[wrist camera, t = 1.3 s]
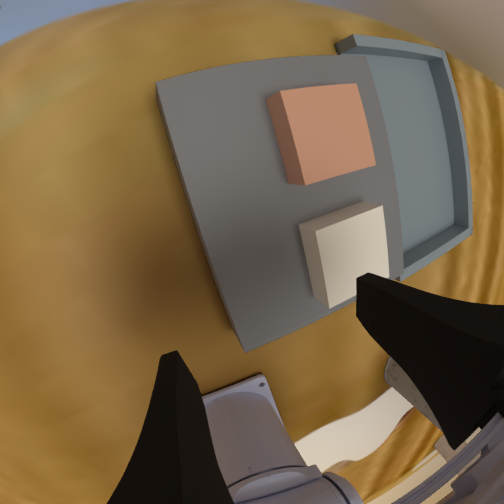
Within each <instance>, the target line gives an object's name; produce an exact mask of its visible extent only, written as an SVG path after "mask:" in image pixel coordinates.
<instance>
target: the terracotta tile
mask: <svg viewBox="0 0 504 504" xmlns="http://www.w3.org/2000/svg"><path fill="white" fill-rule="evenodd" d="M266 103H267V106H268V109H269V113H270V116H271V120H272V123H273V127H274V130H275V134H276V138H277V141H278V145H279V149H280V152H281V156H282V160H283V164H284V168H285V171H286V175H287V179H288V183H289V184H297V185H309V184H312V183H315V182H319V181H322V180H325V179H329V178H332V177H335V176H339V175H342V174H346V173H349V172H353V171H356V170H360V169H364V168H367V167H371V166H374V165H376V162H375V157H374V152H373V147H372V142H371V138H370V133H369V129H368V125H367V120H366V116H365V112H364V109H363V105H362V101H361V98H360V94H359V90H358V87H357V84H356V83H353V84H337V85H325V86H314V87H305V88H297V89H290V90H283V91H279V92H277V93H276V94H274V95H272V96H271V97H269V98H268V99H266Z"/></svg>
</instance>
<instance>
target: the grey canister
mask: <svg viewBox="0 0 504 504" xmlns="http://www.w3.org/2000/svg"><path fill="white" fill-rule="evenodd" d="M384 378H385V381H386V382H387V383H388V384H389V385H391V386H392V387H393V388H394V389H395V390H397V391H398V392H399V393H400V394H401V395H402V396H403V397H404V398H405V399H407V400H408V401H409V402H410V403H411V404H412V405H413V406H414V407H415V408H417V409H418V410H419V411H420V412H421V413H422V414H423V415H424V416H425V417H427V418H428V419H429V420H430V421H431V422H432V423H433V424H434V425H435V426H437V427H438V428H439V429H440V430H441V431H442V429H441V427H440V425H439V423H438V421H437V419H436V418H435V416H434V414H433V412H432V411H431V409H430V407H429V406H428V404H427V402H426V401H425V399H424V398H423V396H422V395H421V393H420V392H419V390H418V389H417V387H416V386H415V385H414V383H413V382H412V381H411V379H410V378H409V376H408V375H407V374H406V373H405V372H404V370H403V369H402V368H401V367H400V366H399V365H398V364H397V363H396V362H395V361H394V360H393V359H392V358H391V357H389V358H388V361H387V364H386V367H385V371H384ZM442 432H443V431H442Z"/></svg>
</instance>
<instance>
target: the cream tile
mask: <svg viewBox="0 0 504 504" xmlns="http://www.w3.org/2000/svg"><path fill="white" fill-rule="evenodd" d="M298 225H299V229H300V234H301V238H302V243H303V247H304V252H305V256H306V261H307V266H308V270H309V275H310V280H311V285H312V290H313V295H314V297H315V298H317V299H318V300H319V301H320V302H322V303H323V304H324V305H325V306H327V307H328V308H329V309H330V308H332V307H334V306H336V305H338V304H340V303H342V302H344V301H346V300H348V299H350V298H352V297H353V296H355V295H356V278H357V277H360V276H362V275H364V274H366V273H368V272H369V273H372V274H375V275H378V276H381V277H384V278H388V277H389V263H388V250H387V239H386V229H385V220H384V212H383V205H379V204H374V203H369V202H364V201H362V202H359V203H356V204H354V205H351V206H348V207H345V208H342V209H340V210H337V211H334V212H331V213H329V214H326V215H323V216H320V217H318V218H315V219H312V220H309V221H307V222H304V223H301V224H298Z"/></svg>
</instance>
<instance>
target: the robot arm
mask: <svg viewBox="0 0 504 504" xmlns="http://www.w3.org/2000/svg"><path fill="white" fill-rule="evenodd" d="M356 316H357V318H358V319H359V321H360V322H361V324H362V325H363V326H364V328H365V329H366V330H367V332H368V333H369V334H370V335H371V337H372V338H373V339H374V340H375V341H376V342H377V343H378V344H379V345H380V346H381V347H382V348H383V349H384V350H385V351H386V352H387V353H388V354H389V356H390V357H391V358H392V359H393V360H394V361H395V362H396V363H397V364H398V365H399V366H400V367H401V368H402V369H403V370H404V372H405V373H406V374H407V375H408V376H409V378H410V379H411V381H412V382H413V383H414V385H415V386H416V387H417V389H418V390H419V392H420V393H421V395H422V396H423V398H424V399H425V401H426V402H427V404H428V406H429V407H430V409H431V411H432V412H433V414H434V416H435V418H436V419H437V421H438V423H439V425H440V427H441V429H442V431H443V433H444V435H445V437H446V440H447V442H448V444H449V446H450V447H451V448H452V449H453V450H454V451H455V450H456V449H457V448H458V447H459V446H460V445H461V444H462V443H463V442H464V441H465V440H466V439H467V438H468V437H469V436H470V435H471V434H472V433H473V432H474V431H475V430H476V429H477V428H478V427H480V428H481V431H480V432H479V433H478V434H477V435H476V436H475V437H474V438H473V439H472V440H471V441H470V442H469V443H468V444H467V445H466V446H465V447H464V448H463V449H462V450H461V451H460V452H459V453H458V454H456V455H455V456H454V457H453V458H452V459H451V460H450V461H448V462H447V463H446V464H445V465H444V466H443V467H441V468H440V469H439V470H438V471H437V472H436V473H434V474H433V475H432V476H430V477H429V478H428V479H426V480H425V481H424V482H423V483H421V484H420V485H418V486H417V487H416V488H414V489H413V490H411V491H410V492H408V493H407V494H405V495H404V496H403V497H401V498H399V499H398V500H396V501H395V502H393V503H392V504H420V503H421V502H423V501H424V500H425V499H427V498H428V497H429V496H431V495H432V494H433V493H435V492H436V491H437V490H438V489H440V488H441V487H442V486H443V485H444V484H445V483H447V482H448V481H449V480H450V479H451V478H453V477H454V476H455V475H456V474H457V473H458V472H459V471H461V470H462V469H463V468H464V467H465V466H466V465H467V464H468V463H469V462H470V461H471V460H472V459H473V458H474V457H475V456H476V455H477V454H478V453H479V452H480V451H481V452H480V453H481V456H480V458H479V459H477V460H476V461H475V462H474V463H473V464H471V465H470V466H469V467H468V468H467V469H466V470H464V471H463V472H462V473H461V474H460V475H459V476H458V477H457V478H456V479H455V480H454V481H453V482H452V483H451V487H452V488H453V491H452V492H451V493H449V494H448V495H447V496H445V497H444V498H443V499H442V500H440V501H439V502H438V503H436V504H504V305H489V304H479V303H471V302H465V301H460V300H455V299H450V298H446V297H442V296H439V295H435V294H432V293H428V292H425V291H422V290H419V289H416V288H413V287H410V286H407V285H404V284H401V283H398V282H396V281H393V280H390V279H387V278H384V277H381V276H378V275H375V274H372V273H369V272H368V273H366V274H364V275H362V276H360V277H357V278H356ZM260 383H262V384H260ZM107 504H363V502H362V499H361V498H360V496H359V494H358V492H357V491H356V489H355V488H354V487H353V486H352V485H351V483H350V482H348V481H347V480H346V479H345V478H343V477H341V476H338V475H337V474H335V473H332V472H325V473H323V474H322V473H321V472H320V470H319V469H318V467H317V466H316V465H312V466H307V465H306V463H305V462H304V460H303V458H302V457H301V455H300V453H299V452H298V450H297V449H296V447H295V445H294V443H293V442H292V440H291V438H290V437H289V435H288V433H287V431H286V430H285V427H284V425H283V422H282V420H281V417H280V414H279V412H278V409H277V407H276V404H275V401H274V399H273V396H272V393H271V391H270V388H269V385H268V383H267V380H266V378H265V376H264V375H263V374H259V375H256V376H254V377H251V378H249V379H247V380H244V381H242V382H239V383H237V384H234V385H232V386H229V387H226V388H224V389H221V390H219V391H216V392H213V393H211V394H208V395H205V396H201V393H200V390H199V387H198V384H197V382H196V380H195V379H194V377H193V375H192V374H191V372H190V371H189V369H188V367H187V366H186V364H185V363H184V361H183V359H182V358H181V356H180V354H179V353H178V351H177V350H176V351H173V352H170V353H167V354H164V355H162V356H161V358H160V361H159V366H158V371H157V376H156V380H155V384H154V389H153V393H152V396H151V400H150V404H149V408H148V411H147V415H146V418H145V421H144V424H143V428H142V431H141V434H140V437H139V439H138V442H137V445H136V447H135V450H134V452H133V455H132V457H131V459H130V461H129V464H128V466H127V468H126V470H125V472H124V474H123V476H122V478H121V480H120V482H119V484H118V485H117V487H116V489H115V491H114V492H113V494H112V496H111V498H110V499H109V501H108V502H107Z"/></svg>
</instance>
